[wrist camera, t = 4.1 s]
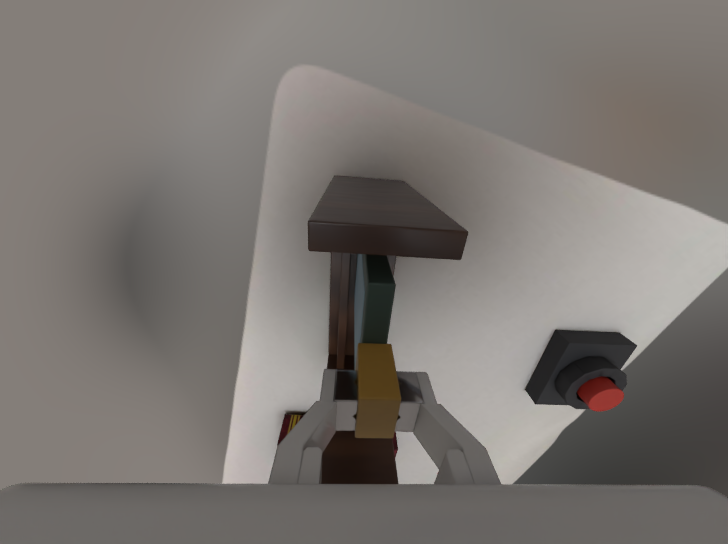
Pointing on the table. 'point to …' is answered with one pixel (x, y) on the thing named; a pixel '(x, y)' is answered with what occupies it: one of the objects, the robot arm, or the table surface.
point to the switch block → (578, 365)
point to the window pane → (374, 349)
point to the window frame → (345, 240)
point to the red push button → (600, 394)
